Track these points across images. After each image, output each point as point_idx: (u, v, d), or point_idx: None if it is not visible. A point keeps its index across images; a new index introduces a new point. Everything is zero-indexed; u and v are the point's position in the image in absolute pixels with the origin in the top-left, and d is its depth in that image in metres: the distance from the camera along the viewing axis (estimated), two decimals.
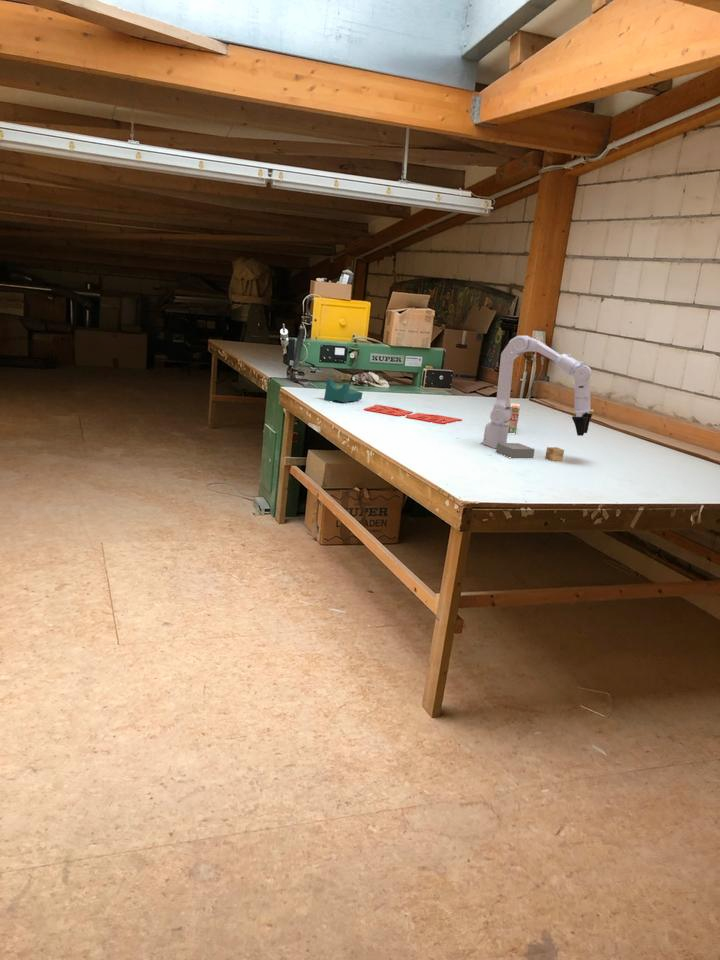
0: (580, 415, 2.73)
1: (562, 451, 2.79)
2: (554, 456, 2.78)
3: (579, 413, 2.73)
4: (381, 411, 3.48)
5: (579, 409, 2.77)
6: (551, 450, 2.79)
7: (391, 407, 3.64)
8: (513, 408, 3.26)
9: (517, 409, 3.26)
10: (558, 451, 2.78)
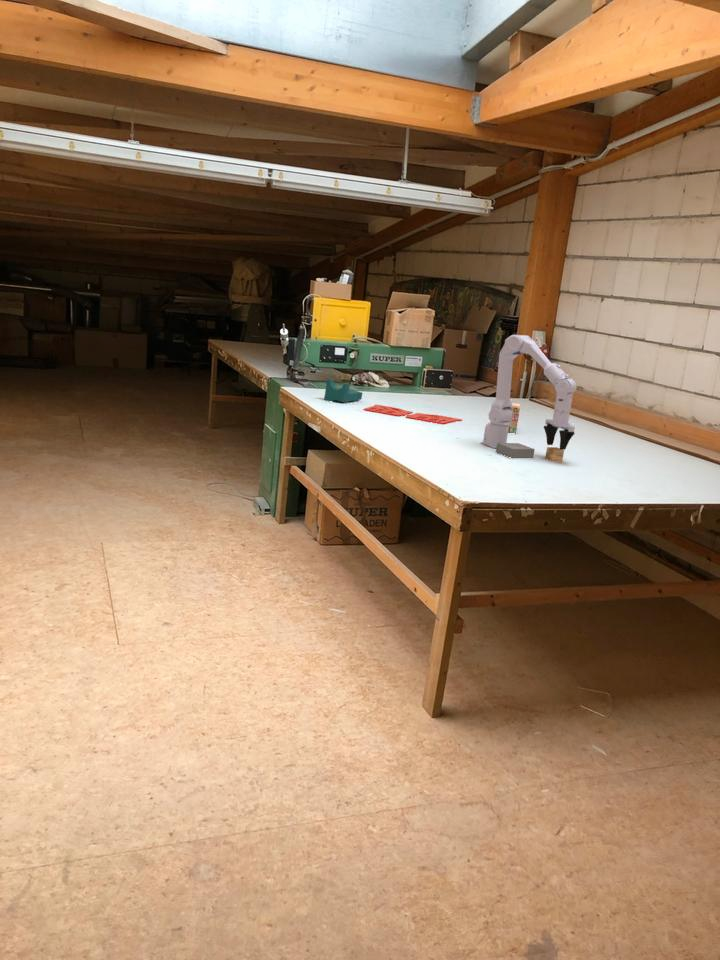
0: (573, 430, 2.72)
1: (562, 451, 2.79)
2: (554, 456, 2.78)
3: (572, 428, 2.72)
4: (381, 411, 3.48)
5: (563, 423, 2.75)
6: (551, 450, 2.79)
7: (391, 407, 3.64)
8: (513, 408, 3.27)
9: (517, 409, 3.26)
10: (558, 451, 2.78)
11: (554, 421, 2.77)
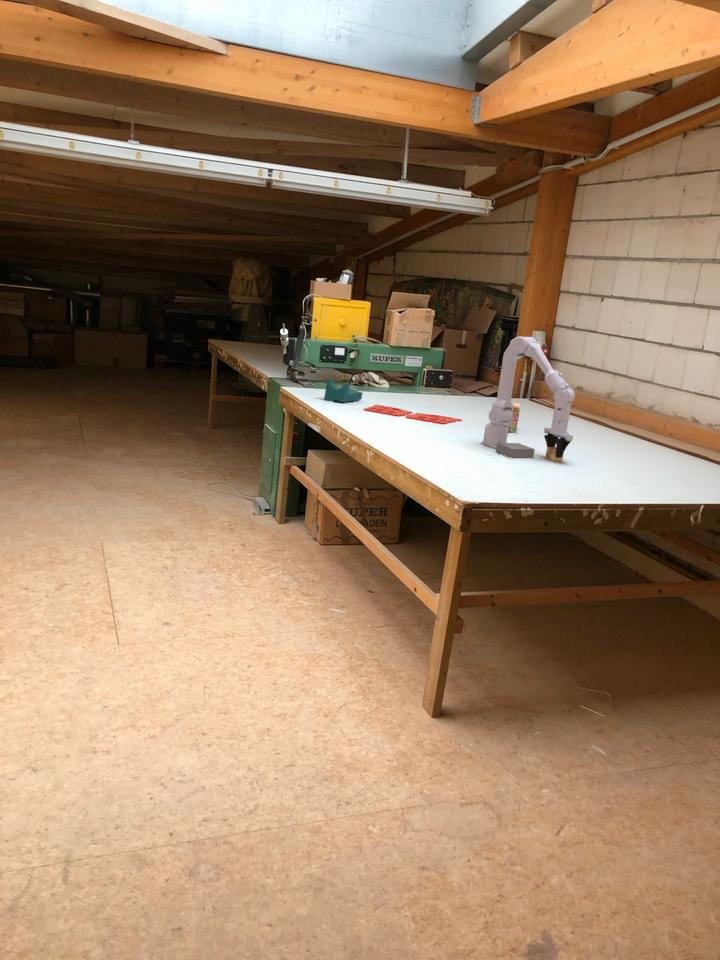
0: (571, 439, 2.73)
1: None
2: (554, 456, 2.78)
3: (571, 437, 2.73)
4: (381, 411, 3.48)
5: (562, 432, 2.76)
6: (551, 450, 2.79)
7: (391, 407, 3.64)
8: (513, 408, 3.27)
9: (517, 409, 3.27)
10: None
11: (552, 430, 2.77)
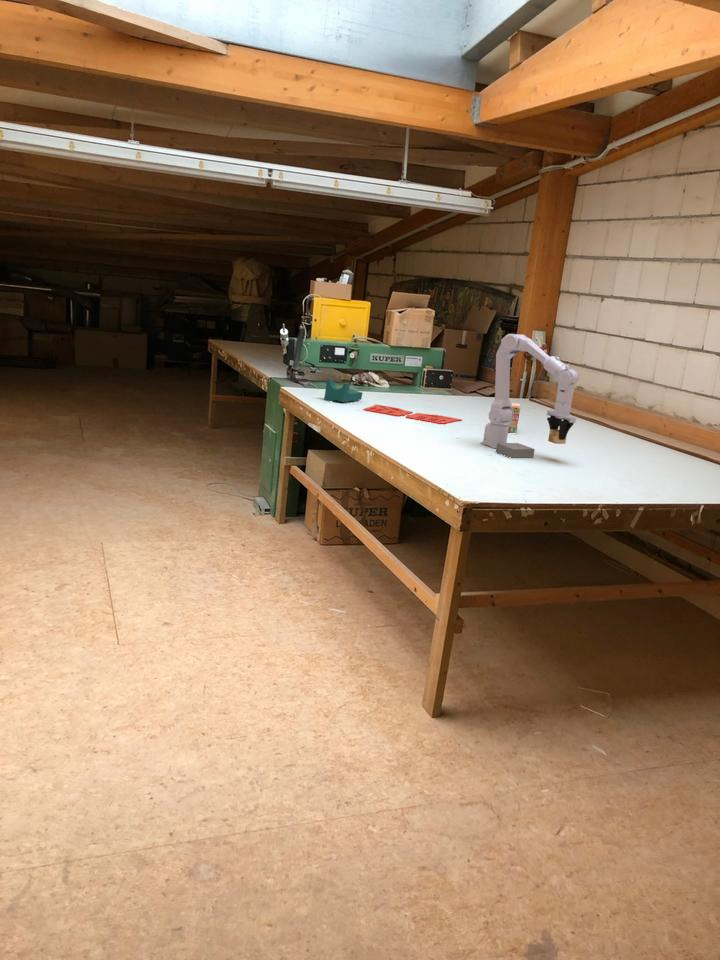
0: (574, 421, 2.71)
1: None
2: (557, 438, 2.77)
3: (574, 419, 2.71)
4: (381, 411, 3.48)
5: (565, 414, 2.74)
6: (554, 432, 2.77)
7: (391, 407, 3.64)
8: (514, 408, 3.27)
9: (518, 409, 3.27)
10: None
11: (555, 412, 2.76)
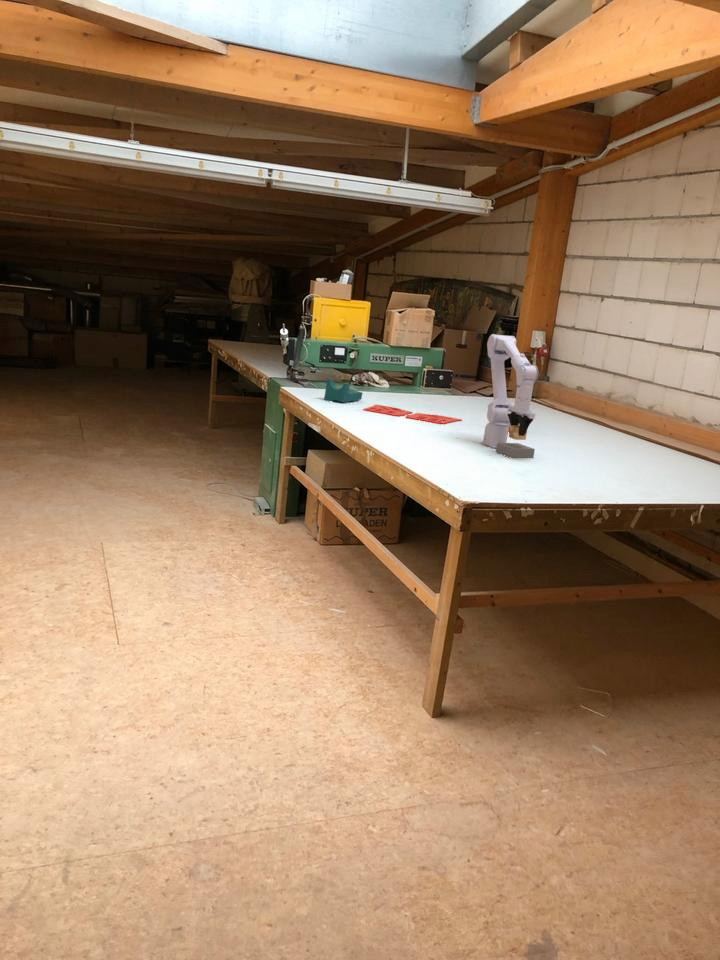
0: (533, 417, 2.72)
1: None
2: (517, 434, 2.78)
3: (533, 415, 2.72)
4: (381, 411, 3.48)
5: (524, 410, 2.75)
6: (514, 428, 2.78)
7: (391, 407, 3.64)
8: None
9: None
10: None
11: (515, 408, 2.77)
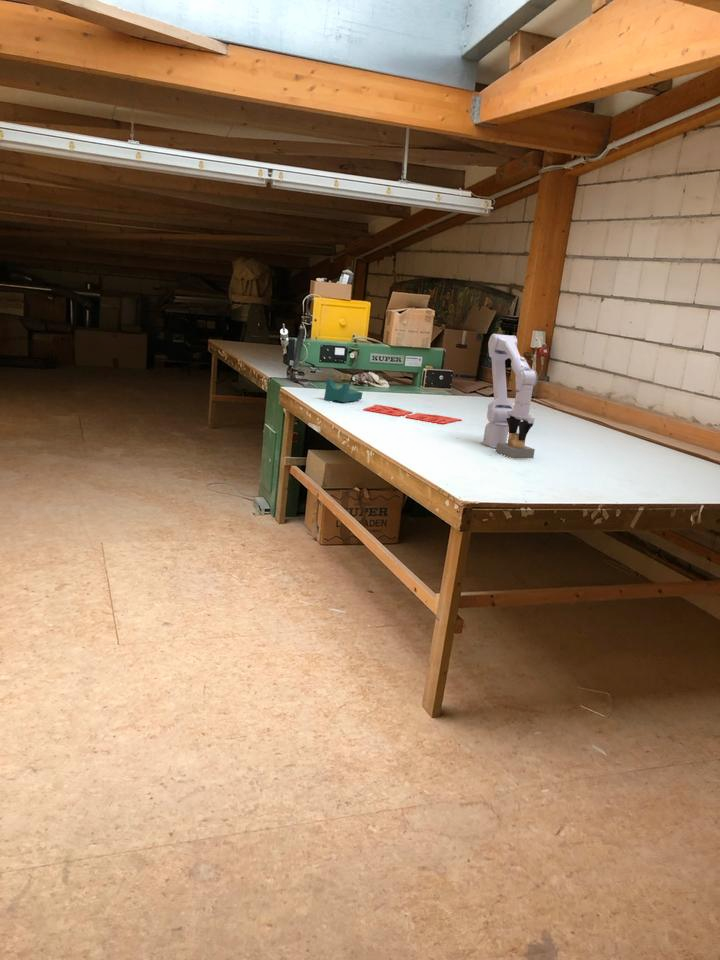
0: (533, 422, 2.73)
1: None
2: (516, 442, 2.78)
3: (532, 420, 2.72)
4: (381, 411, 3.48)
5: (524, 415, 2.76)
6: (513, 436, 2.79)
7: (391, 407, 3.64)
8: None
9: None
10: None
11: (514, 413, 2.77)
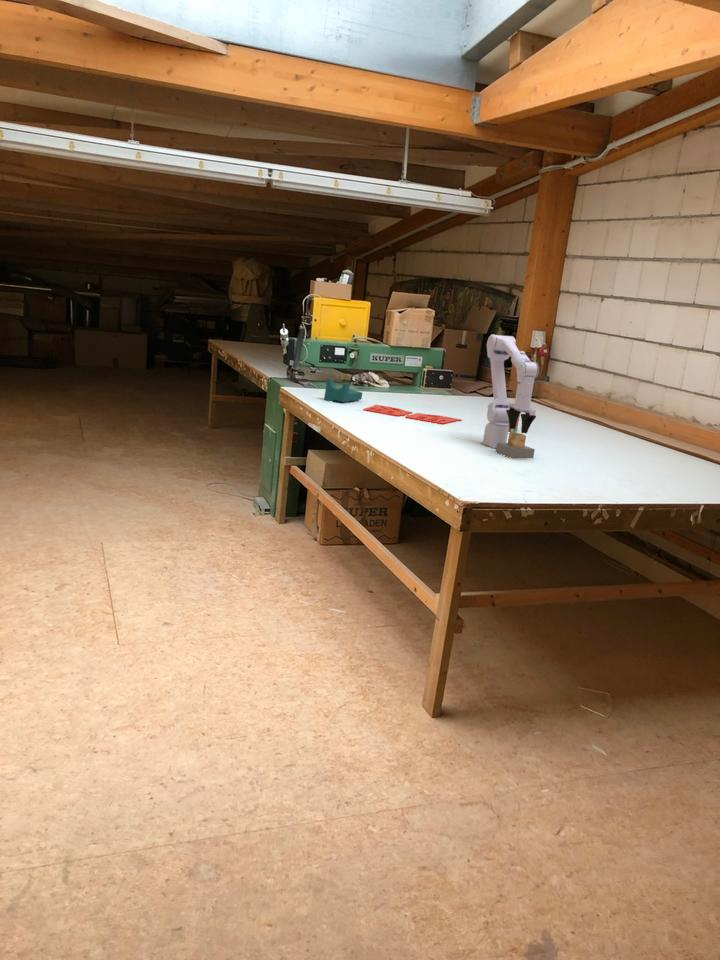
0: (534, 414, 2.72)
1: (524, 437, 2.79)
2: (516, 442, 2.78)
3: (533, 412, 2.72)
4: (381, 411, 3.48)
5: (525, 406, 2.75)
6: (513, 436, 2.79)
7: (391, 407, 3.64)
8: None
9: None
10: (520, 437, 2.79)
11: (516, 405, 2.76)
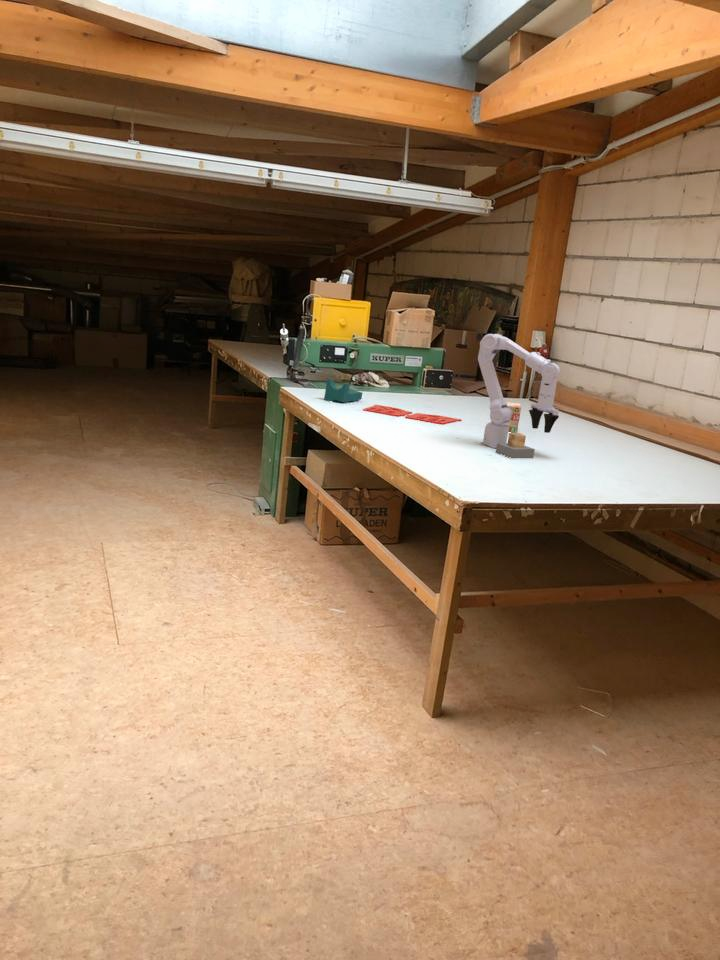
0: (557, 414, 2.79)
1: (524, 437, 2.79)
2: (516, 442, 2.78)
3: (557, 412, 2.78)
4: (380, 411, 3.48)
5: (548, 407, 2.82)
6: (513, 436, 2.79)
7: (391, 407, 3.63)
8: (514, 408, 3.27)
9: (518, 409, 3.27)
10: (520, 437, 2.78)
11: (539, 405, 2.83)
